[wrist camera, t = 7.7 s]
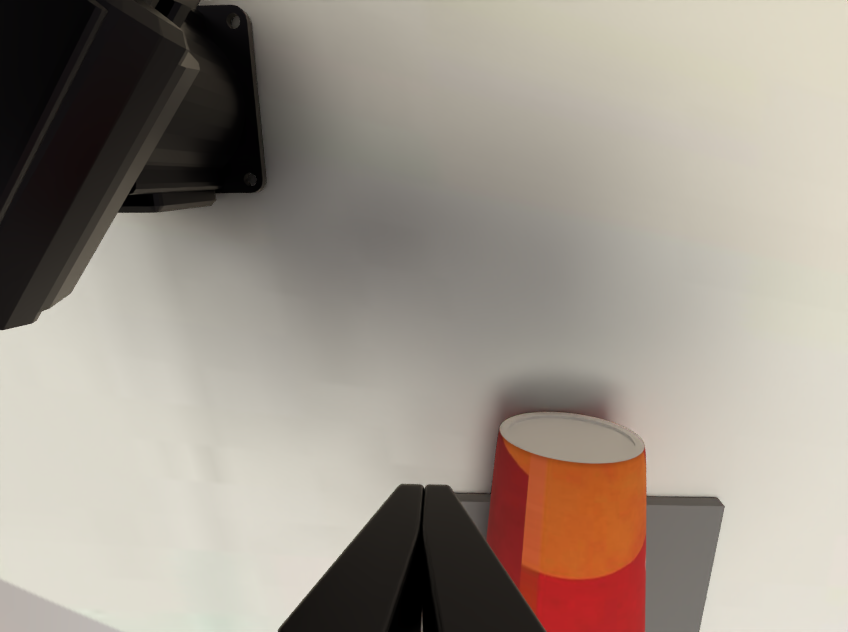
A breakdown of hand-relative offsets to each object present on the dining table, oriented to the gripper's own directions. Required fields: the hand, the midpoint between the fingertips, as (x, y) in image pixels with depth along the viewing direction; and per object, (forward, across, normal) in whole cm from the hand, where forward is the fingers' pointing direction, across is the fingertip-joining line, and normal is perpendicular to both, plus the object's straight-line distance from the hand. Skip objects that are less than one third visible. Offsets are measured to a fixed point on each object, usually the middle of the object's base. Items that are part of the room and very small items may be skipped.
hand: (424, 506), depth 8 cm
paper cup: (+10, -5, +4) cm, 12 cm away
